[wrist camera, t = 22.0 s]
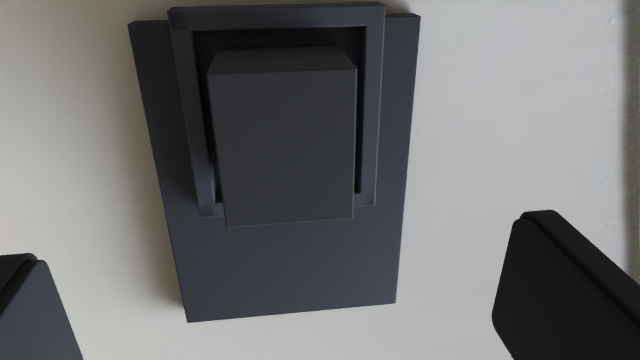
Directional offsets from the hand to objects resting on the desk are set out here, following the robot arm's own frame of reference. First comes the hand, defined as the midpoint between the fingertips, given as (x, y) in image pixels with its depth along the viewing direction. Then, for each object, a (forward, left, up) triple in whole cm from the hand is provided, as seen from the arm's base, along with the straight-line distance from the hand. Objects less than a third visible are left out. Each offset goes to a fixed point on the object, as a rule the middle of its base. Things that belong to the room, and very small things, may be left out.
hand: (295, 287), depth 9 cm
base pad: (+4, 0, -13) cm, 14 cm away
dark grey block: (0, 0, -12) cm, 12 cm away
